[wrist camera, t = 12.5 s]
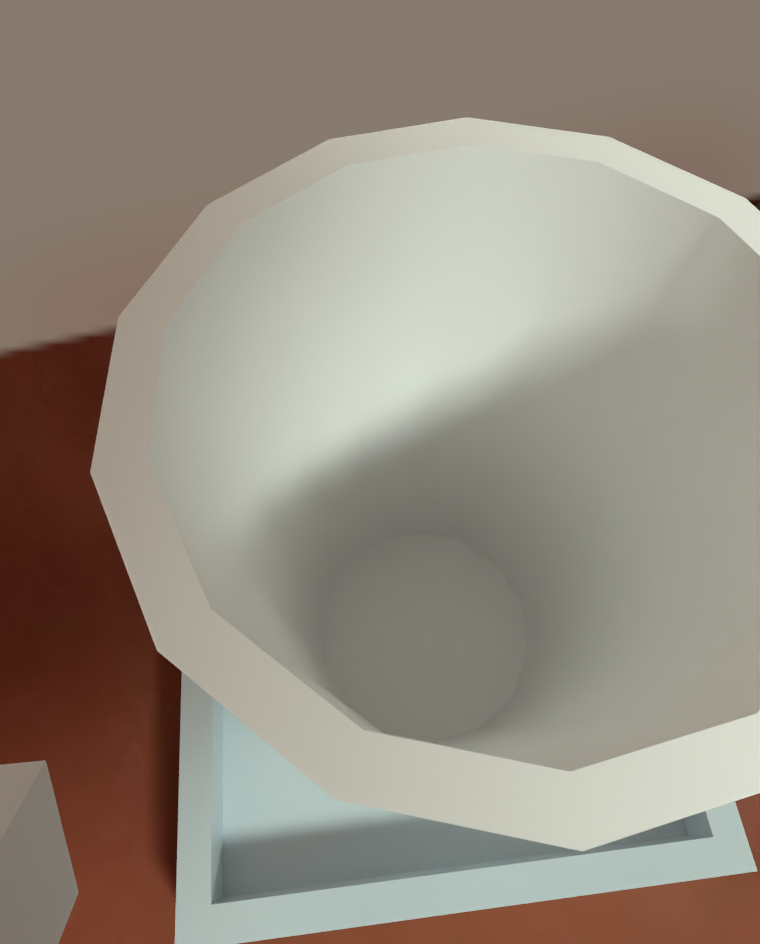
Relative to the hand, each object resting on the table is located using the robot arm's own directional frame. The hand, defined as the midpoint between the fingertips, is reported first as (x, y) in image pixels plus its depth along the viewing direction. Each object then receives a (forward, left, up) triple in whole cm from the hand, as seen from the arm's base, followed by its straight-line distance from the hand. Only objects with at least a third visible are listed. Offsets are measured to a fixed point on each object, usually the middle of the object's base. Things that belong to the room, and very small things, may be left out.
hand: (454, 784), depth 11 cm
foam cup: (-1, -4, -7) cm, 8 cm away
